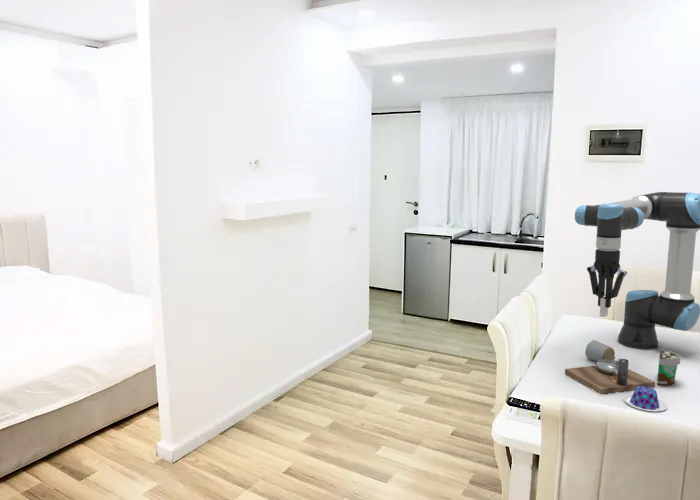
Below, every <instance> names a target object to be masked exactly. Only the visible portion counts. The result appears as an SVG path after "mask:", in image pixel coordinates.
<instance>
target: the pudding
mask: <svg viewBox="0 0 700 500" xmlns="http://www.w3.org/2000/svg"><path fill="white" fill-rule="evenodd" d="M633 391H634V392H632V394H627V395H625V396H623V402H625V403H626V404H628V406H630V407H634V408H636V409H639V410H642V411H647V412H663V411H665V410H666V409H667V408H668V406H667V404H666V403H665V402H664V401H663V400H660V399H659V397H658V392H657V391H656V389H655V388H650V387H646V386H638V387H636V388H635V390H633ZM628 398H631V400H630V403H629V402H627V399H628Z"/></svg>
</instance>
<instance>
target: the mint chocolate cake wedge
mask: <svg viewBox="0 0 700 500" xmlns="http://www.w3.org/2000/svg"><path fill="white" fill-rule="evenodd" d="M680 364H681V360H680V356H679V354H678V353H677V352H674V351H671V350H669V349H668V350H667V349H664V348H660V349H659V360H658V370H657V378H656V379H657V381H656V385H657V386H660V387H661V386H662V387H671V386H674V385H675V379H676V374H677V369H678V365H680Z"/></svg>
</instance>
